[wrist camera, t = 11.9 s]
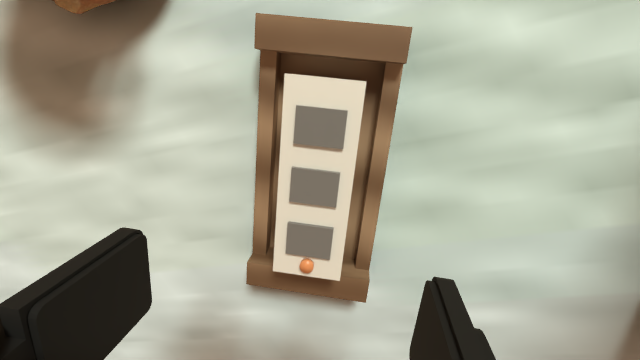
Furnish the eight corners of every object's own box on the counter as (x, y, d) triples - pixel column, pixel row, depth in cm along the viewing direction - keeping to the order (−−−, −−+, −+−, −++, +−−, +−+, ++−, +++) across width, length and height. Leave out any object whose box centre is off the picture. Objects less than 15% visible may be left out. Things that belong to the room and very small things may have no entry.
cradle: (270, 22, 25) (255, 13, 22) (404, 34, 25) (412, 27, 21) (259, 261, 32) (246, 284, 28) (364, 276, 31) (365, 302, 28)
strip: (300, 74, 26) (283, 73, 19) (364, 81, 25) (366, 81, 19) (289, 234, 30) (271, 274, 24) (343, 241, 29) (339, 284, 23)
